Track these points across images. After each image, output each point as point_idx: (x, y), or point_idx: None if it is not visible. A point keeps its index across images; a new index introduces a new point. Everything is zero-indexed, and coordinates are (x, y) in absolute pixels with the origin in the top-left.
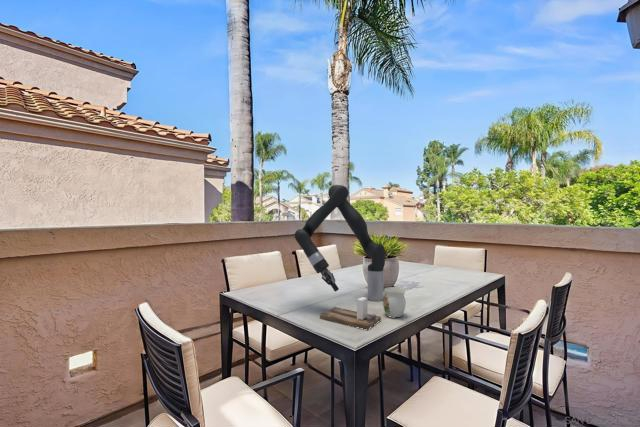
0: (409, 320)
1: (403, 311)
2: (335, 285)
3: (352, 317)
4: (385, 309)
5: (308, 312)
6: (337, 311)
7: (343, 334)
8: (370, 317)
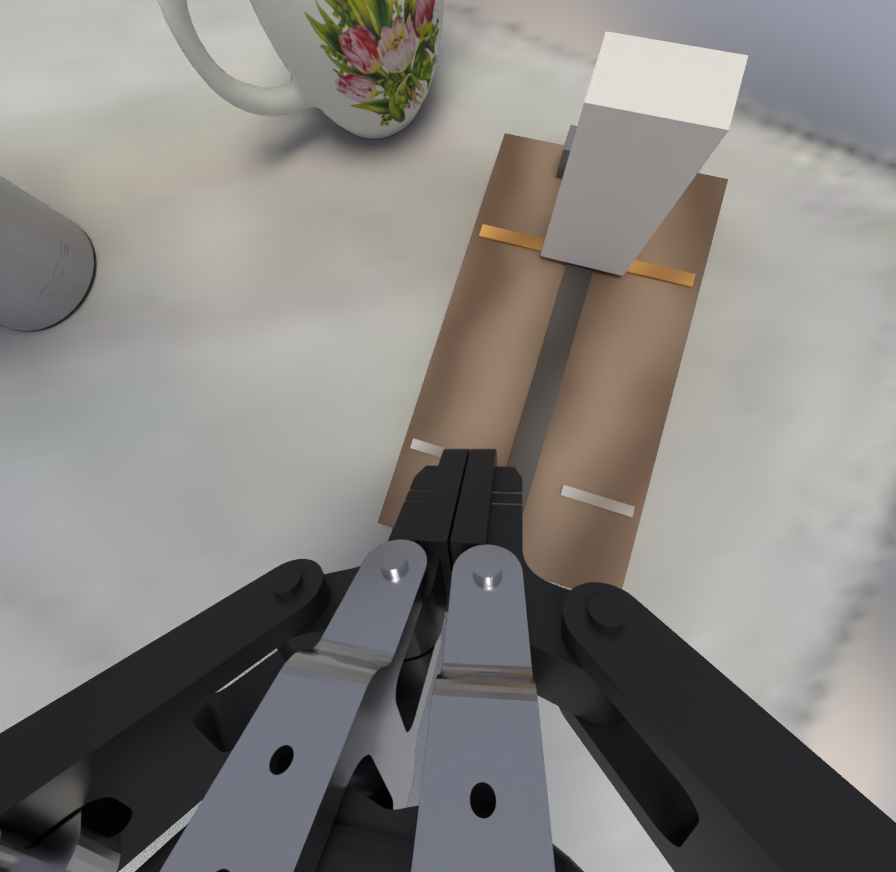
0: None
1: None
2: (490, 506)
3: (590, 319)
4: (408, 89)
5: None
6: None
7: (841, 337)
8: None
